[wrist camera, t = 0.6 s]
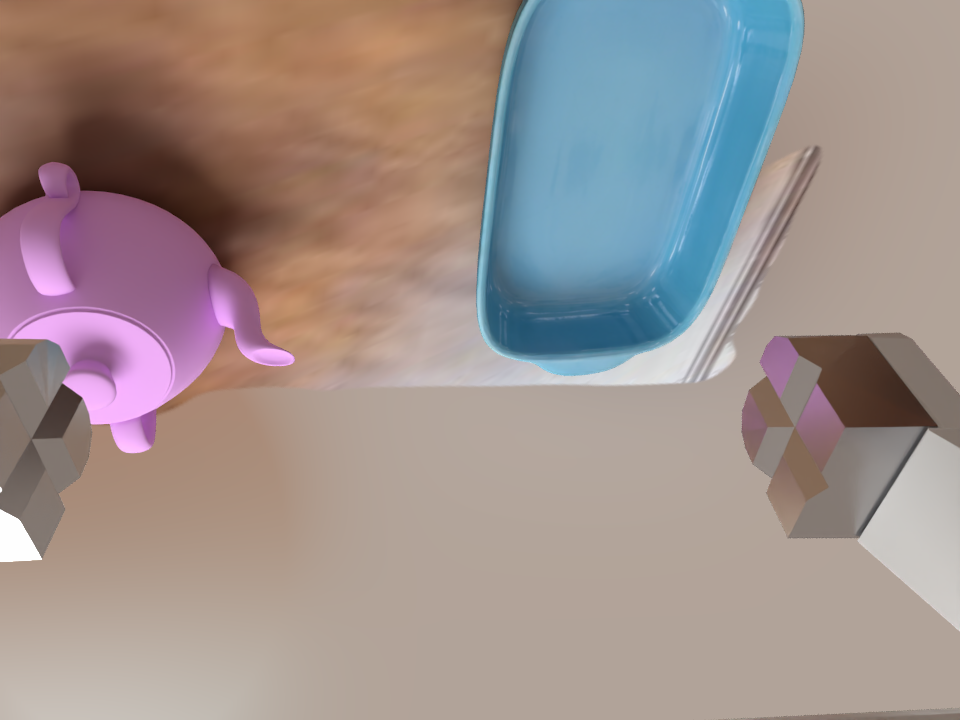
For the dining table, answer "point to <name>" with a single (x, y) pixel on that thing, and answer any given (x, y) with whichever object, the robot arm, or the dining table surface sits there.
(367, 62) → the dining table surface
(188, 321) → the teapot
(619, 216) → the casserole dish
